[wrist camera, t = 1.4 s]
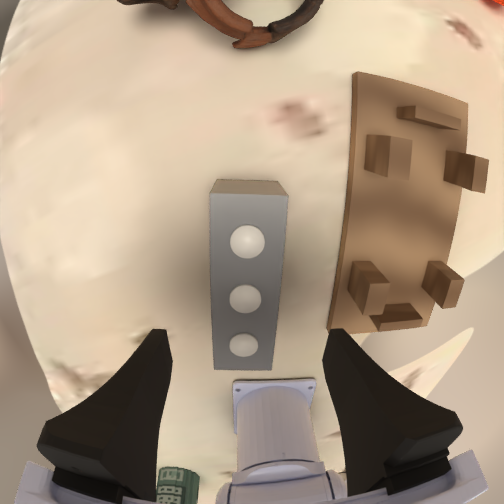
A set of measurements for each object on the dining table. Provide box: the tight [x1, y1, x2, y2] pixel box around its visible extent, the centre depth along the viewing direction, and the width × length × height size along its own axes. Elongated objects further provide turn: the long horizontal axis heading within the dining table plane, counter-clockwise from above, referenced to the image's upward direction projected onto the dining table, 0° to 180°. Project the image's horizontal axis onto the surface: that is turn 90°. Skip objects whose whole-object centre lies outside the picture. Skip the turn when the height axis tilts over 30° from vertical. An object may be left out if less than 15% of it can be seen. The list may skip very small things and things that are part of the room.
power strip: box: [210, 179, 288, 370], centre depth 19 cm, size 12×4×5 cm, turn 178°
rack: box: [327, 72, 489, 334], centre depth 18 cm, size 20×10×4 cm, turn 179°
